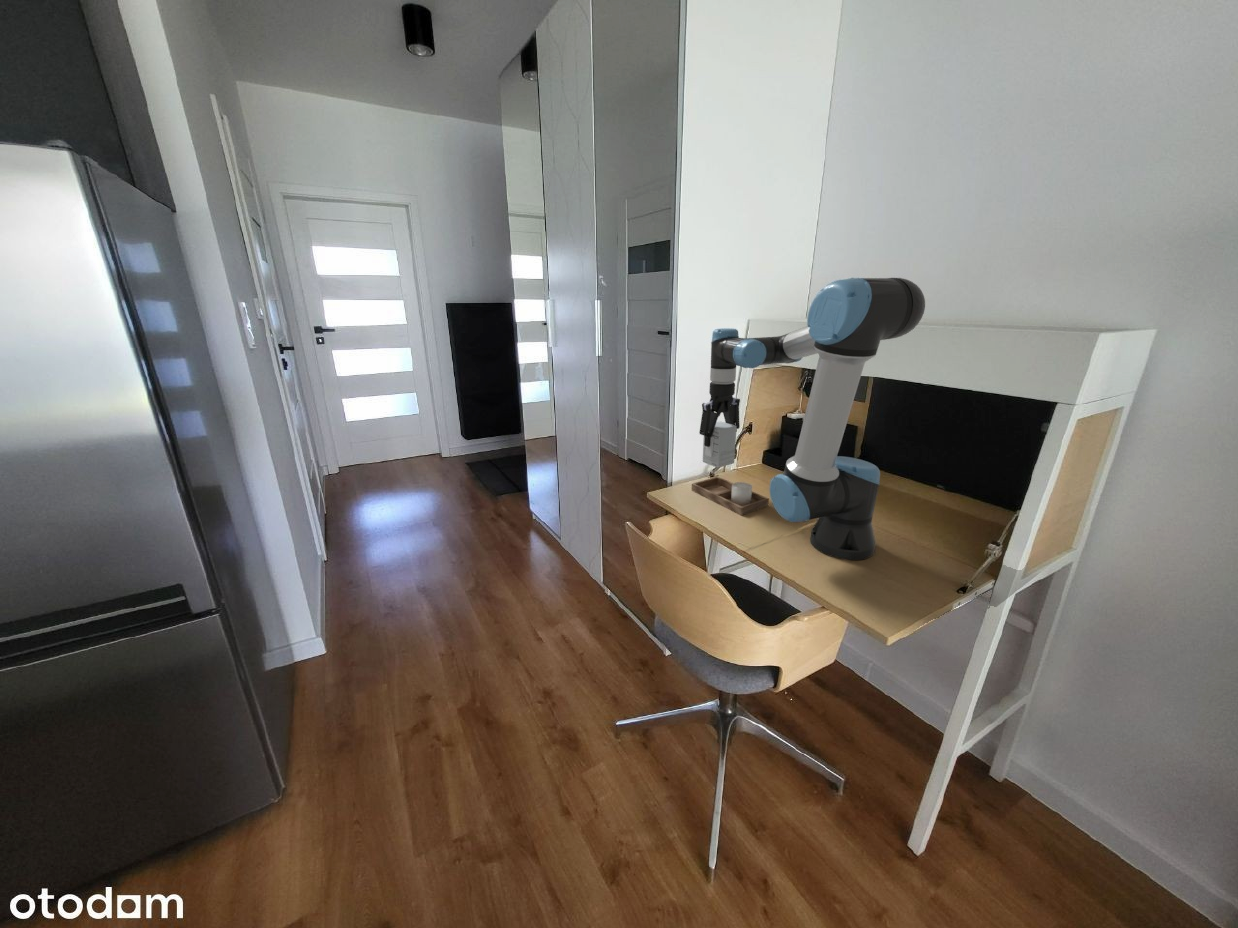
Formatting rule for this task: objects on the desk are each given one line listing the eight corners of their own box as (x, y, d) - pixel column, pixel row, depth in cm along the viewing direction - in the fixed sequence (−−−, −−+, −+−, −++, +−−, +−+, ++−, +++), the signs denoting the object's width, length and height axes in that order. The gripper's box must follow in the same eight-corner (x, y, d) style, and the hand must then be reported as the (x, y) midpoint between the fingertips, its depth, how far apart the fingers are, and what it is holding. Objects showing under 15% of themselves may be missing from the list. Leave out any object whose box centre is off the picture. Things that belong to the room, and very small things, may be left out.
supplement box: (718, 457, 152) (720, 420, 147) (734, 463, 146) (737, 425, 142) (701, 461, 148) (703, 424, 144) (718, 468, 142) (720, 429, 138)
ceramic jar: (754, 504, 141) (756, 486, 139) (740, 509, 138) (742, 491, 136) (740, 498, 146) (741, 480, 144) (726, 502, 143) (727, 485, 141)
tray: (768, 507, 140) (768, 498, 139) (740, 517, 135) (741, 508, 134) (717, 484, 158) (717, 476, 157) (691, 492, 153) (691, 483, 152)
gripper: (737, 376, 146) (733, 444, 154) (688, 383, 136) (686, 456, 144) (755, 379, 140) (749, 450, 148) (705, 387, 130) (702, 462, 138)
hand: (718, 453), depth 146 cm, fingers closed on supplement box, 7 cm apart
